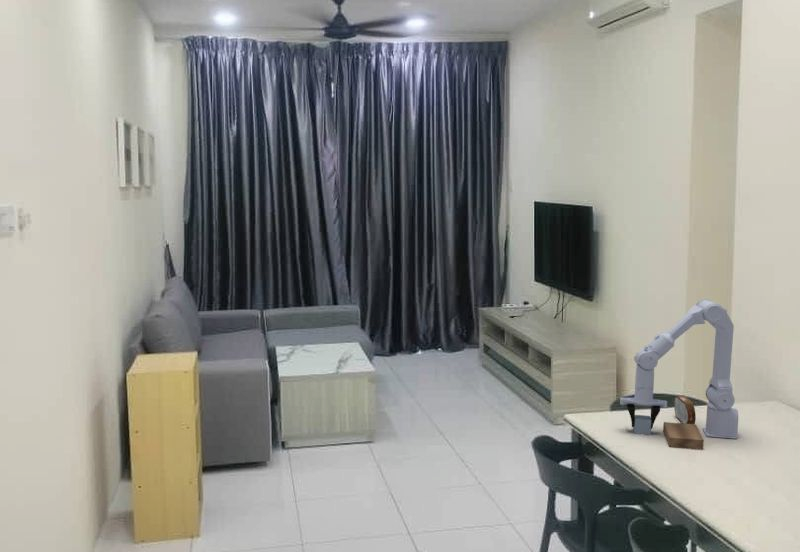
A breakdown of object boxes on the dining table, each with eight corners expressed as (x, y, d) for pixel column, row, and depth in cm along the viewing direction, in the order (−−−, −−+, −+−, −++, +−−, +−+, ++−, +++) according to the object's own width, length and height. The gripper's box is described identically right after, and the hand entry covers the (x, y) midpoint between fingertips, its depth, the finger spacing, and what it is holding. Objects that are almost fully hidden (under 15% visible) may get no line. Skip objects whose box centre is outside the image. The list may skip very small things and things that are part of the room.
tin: (695, 429, 268) (697, 404, 267) (686, 429, 268) (687, 404, 267) (681, 415, 283) (682, 392, 282) (672, 415, 283) (673, 392, 282)
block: (648, 430, 266) (649, 415, 265) (650, 435, 261) (651, 420, 260) (633, 429, 267) (634, 414, 266) (634, 434, 262) (635, 419, 261)
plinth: (695, 433, 263) (695, 424, 263) (703, 449, 248) (703, 440, 247) (663, 430, 265) (663, 422, 265) (668, 446, 250) (669, 437, 249)
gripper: (666, 385, 264) (663, 425, 266) (620, 382, 267) (618, 421, 269) (668, 390, 258) (666, 431, 259) (621, 387, 260) (619, 428, 262)
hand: (642, 427), depth 264 cm, fingers closed on block, 5 cm apart
